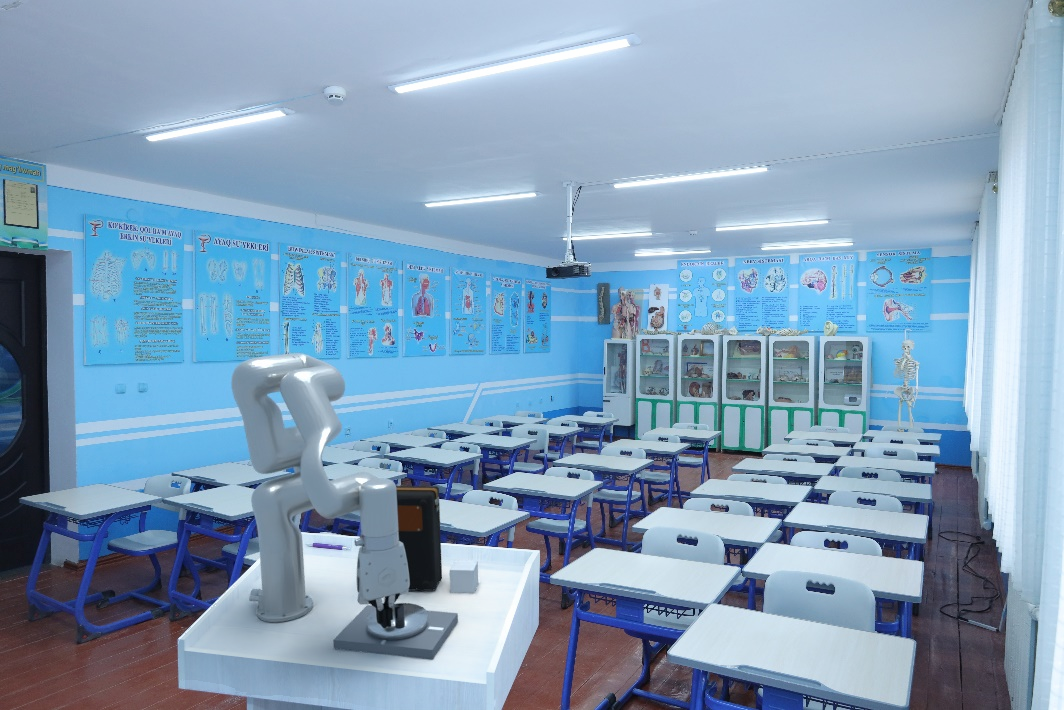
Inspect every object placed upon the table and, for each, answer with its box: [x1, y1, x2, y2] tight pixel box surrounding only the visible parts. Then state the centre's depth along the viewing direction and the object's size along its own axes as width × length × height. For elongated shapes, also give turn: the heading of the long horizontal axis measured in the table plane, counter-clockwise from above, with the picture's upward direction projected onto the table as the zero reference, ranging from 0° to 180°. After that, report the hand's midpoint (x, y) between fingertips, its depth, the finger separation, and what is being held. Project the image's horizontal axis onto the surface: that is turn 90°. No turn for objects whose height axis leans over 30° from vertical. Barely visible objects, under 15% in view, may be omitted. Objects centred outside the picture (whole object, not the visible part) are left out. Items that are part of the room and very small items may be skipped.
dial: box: [367, 602, 428, 640], centre depth 154 cm, size 13×13×6 cm
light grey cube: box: [449, 559, 479, 594], centre depth 177 cm, size 6×6×6 cm
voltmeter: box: [396, 485, 443, 591], centre depth 178 cm, size 16×9×25 cm, turn 84°
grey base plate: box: [332, 604, 459, 660], centre depth 155 cm, size 22×16×2 cm
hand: (385, 624), depth 148 cm, fingers closed
